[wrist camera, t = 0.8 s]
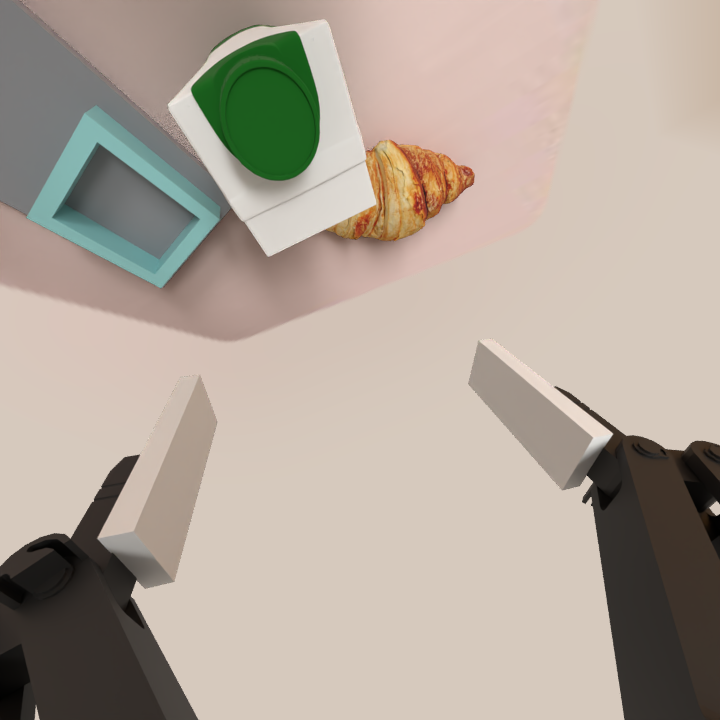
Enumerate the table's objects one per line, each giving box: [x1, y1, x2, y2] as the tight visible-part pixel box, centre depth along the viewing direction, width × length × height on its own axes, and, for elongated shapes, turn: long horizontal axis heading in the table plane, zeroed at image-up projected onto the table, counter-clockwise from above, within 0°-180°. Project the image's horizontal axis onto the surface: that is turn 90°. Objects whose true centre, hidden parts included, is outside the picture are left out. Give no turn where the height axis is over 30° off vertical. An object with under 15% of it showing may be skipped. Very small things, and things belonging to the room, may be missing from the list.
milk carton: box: [168, 19, 376, 257], centre depth 20 cm, size 9×9×20 cm
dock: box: [0, 0, 232, 288], centre depth 25 cm, size 18×14×4 cm
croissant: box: [323, 140, 474, 241], centre depth 33 cm, size 21×10×8 cm, turn 97°
